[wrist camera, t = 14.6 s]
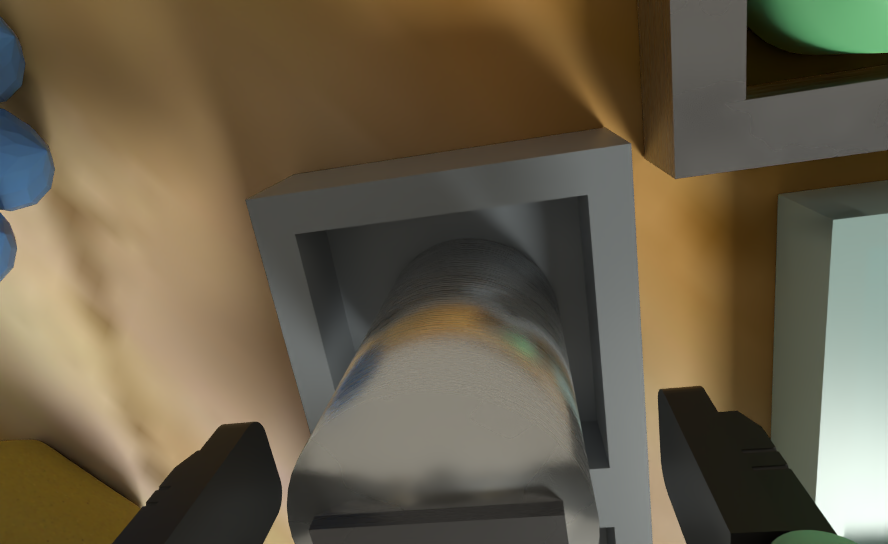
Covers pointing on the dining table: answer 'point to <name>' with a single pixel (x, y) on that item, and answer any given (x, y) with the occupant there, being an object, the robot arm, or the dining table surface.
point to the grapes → (17, 150)
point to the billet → (452, 416)
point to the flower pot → (55, 499)
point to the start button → (821, 25)
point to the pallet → (491, 218)
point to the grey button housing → (742, 97)
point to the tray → (834, 352)
